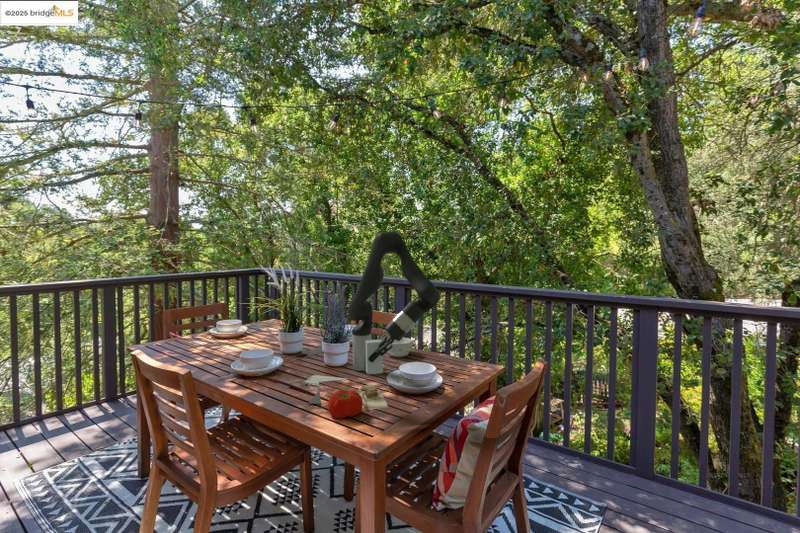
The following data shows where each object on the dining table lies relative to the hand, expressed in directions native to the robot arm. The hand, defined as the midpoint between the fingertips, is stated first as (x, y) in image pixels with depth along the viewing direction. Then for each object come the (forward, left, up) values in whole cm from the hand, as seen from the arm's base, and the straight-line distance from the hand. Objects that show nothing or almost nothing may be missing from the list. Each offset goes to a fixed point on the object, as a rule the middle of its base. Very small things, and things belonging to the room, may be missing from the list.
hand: (369, 359), depth 158 cm
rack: (-5, 0, -19) cm, 20 cm away
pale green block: (-1, +2, -5) cm, 6 cm away
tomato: (+8, -8, -19) cm, 22 cm away
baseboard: (-22, -18, -20) cm, 35 cm away
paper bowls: (-68, +3, -19) cm, 71 cm away
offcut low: (-10, -2, -18) cm, 21 cm away
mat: (-6, -20, -19) cm, 29 cm away
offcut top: (-10, -2, -16) cm, 19 cm away
